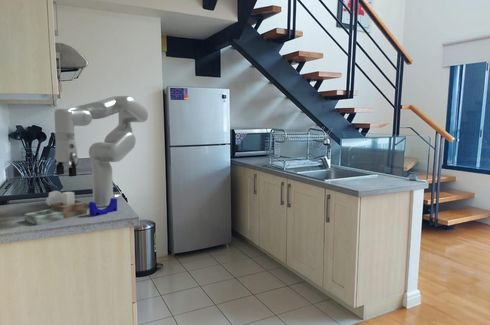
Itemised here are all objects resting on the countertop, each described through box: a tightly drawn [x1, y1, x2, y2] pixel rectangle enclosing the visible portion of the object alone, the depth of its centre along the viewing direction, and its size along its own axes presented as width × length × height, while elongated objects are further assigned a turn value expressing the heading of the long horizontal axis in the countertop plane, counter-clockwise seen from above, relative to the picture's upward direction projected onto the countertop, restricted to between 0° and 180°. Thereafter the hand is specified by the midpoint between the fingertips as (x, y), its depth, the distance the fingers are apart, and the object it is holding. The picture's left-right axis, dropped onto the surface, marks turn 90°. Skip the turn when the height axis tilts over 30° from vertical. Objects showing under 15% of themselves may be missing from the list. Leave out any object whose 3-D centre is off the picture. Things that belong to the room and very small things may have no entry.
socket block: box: [23, 199, 88, 226], centre depth 152 cm, size 22×10×5 cm, turn 147°
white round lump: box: [45, 190, 63, 207], centre depth 171 cm, size 8×8×8 cm
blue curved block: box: [88, 198, 118, 217], centre depth 159 cm, size 12×4×6 cm, turn 141°
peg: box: [61, 191, 76, 205], centre depth 156 cm, size 4×4×10 cm
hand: (66, 175), depth 154 cm, fingers open, 9 cm apart
